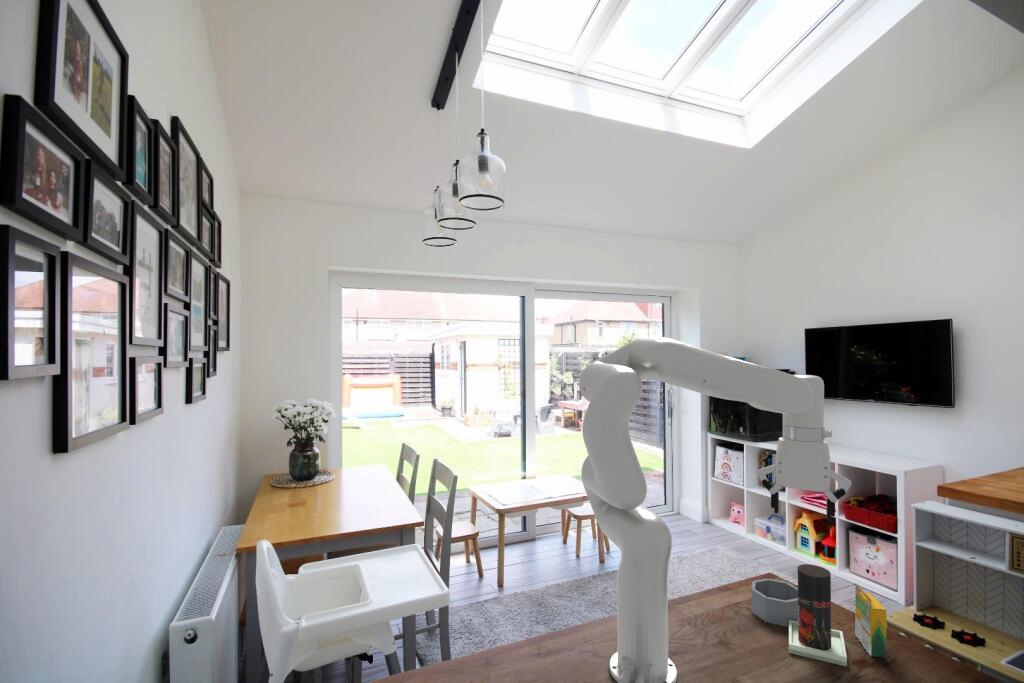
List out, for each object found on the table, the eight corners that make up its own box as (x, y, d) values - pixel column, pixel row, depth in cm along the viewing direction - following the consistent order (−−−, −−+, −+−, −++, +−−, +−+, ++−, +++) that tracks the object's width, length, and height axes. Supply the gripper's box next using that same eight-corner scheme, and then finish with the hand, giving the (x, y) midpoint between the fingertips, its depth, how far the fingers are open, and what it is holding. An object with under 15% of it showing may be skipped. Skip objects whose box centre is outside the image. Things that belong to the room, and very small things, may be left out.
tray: (846, 666, 102) (846, 657, 102) (788, 652, 107) (788, 643, 107) (842, 639, 111) (842, 631, 111) (788, 627, 116) (788, 619, 116)
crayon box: (887, 658, 105) (887, 600, 105) (870, 657, 105) (870, 599, 105) (870, 637, 112) (870, 583, 112) (854, 636, 113) (854, 582, 112)
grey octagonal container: (802, 630, 115) (802, 605, 115) (750, 618, 120) (750, 594, 120) (801, 608, 124) (801, 584, 124) (753, 598, 129) (753, 575, 129)
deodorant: (837, 650, 106) (836, 577, 106) (807, 650, 106) (806, 577, 106) (821, 633, 112) (820, 564, 112) (792, 633, 112) (792, 564, 112)
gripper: (850, 435, 109) (849, 517, 109) (758, 427, 118) (758, 504, 118) (853, 441, 103) (852, 528, 103) (755, 433, 111) (755, 514, 111)
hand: (802, 515), depth 110 cm, fingers open, 9 cm apart
